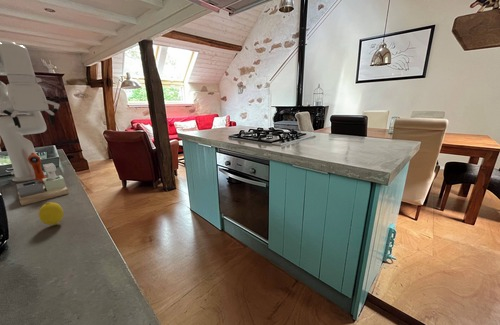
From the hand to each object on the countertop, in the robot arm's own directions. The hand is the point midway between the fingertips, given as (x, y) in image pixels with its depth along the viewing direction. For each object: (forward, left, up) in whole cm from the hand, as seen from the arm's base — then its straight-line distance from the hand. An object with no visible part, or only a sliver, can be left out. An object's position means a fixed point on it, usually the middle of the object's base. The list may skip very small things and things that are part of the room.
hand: (36, 126), depth 86 cm
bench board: (-2, -4, -28) cm, 29 cm away
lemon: (+26, -25, -29) cm, 46 cm away
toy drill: (-15, +7, -29) cm, 33 cm away
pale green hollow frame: (+1, 0, -26) cm, 26 cm away
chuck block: (-4, -6, -26) cm, 27 cm away
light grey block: (+1, 0, -26) cm, 26 cm away
